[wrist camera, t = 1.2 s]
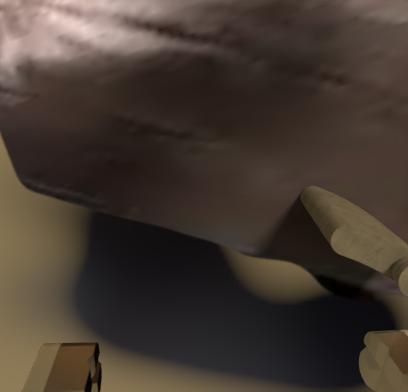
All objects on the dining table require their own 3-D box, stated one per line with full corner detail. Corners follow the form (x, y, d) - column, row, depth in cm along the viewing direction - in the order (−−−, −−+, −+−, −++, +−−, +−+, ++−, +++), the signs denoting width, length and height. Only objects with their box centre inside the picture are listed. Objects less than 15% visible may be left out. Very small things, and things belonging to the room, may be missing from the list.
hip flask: (295, 200, 51) (330, 255, 32) (312, 176, 50) (358, 219, 31) (387, 257, 52) (475, 345, 33) (406, 235, 51) (508, 312, 32)
